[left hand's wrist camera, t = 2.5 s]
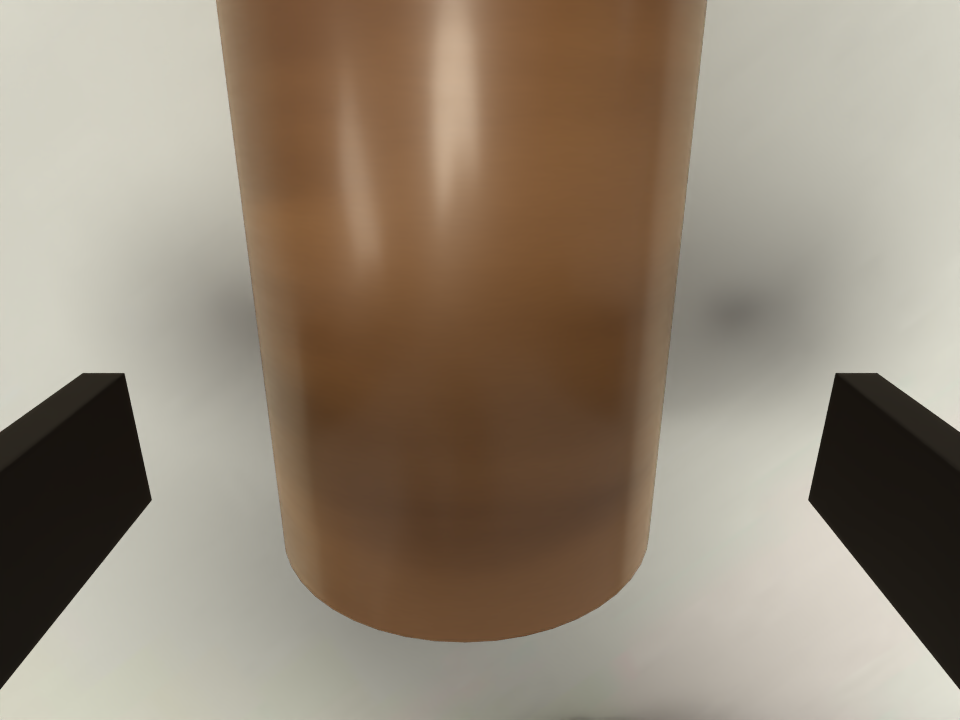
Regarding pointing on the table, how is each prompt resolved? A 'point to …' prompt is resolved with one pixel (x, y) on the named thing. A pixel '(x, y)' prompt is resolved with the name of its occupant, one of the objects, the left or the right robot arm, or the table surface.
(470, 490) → the rod
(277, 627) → the table surface
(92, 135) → the table surface
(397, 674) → the table surface
